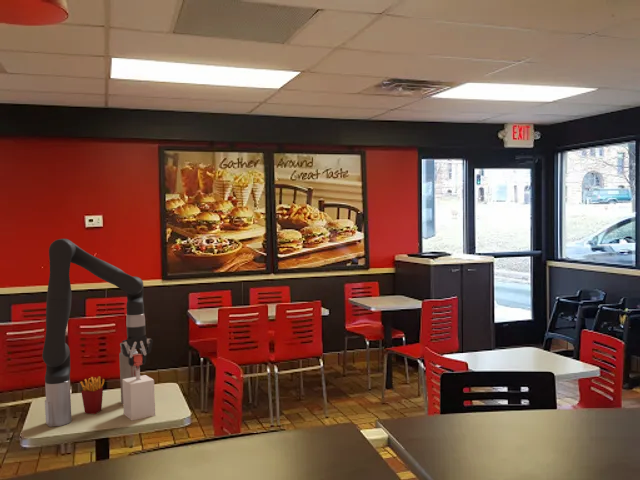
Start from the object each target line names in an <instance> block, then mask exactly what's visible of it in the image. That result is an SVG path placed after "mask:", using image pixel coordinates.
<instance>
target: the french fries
mask: <svg viewBox="0 0 640 480" xmlns="http://www.w3.org/2000/svg"><path fill="white" fill-rule="evenodd" d="M101 380H102V381H101ZM105 380H106V379H104V378H102V379H101V376H97V377H94V376H90V378H88V379H87V378H85V379H84V382H83V381H79V383H80V385H81V388H82V390H81V397H82V402H83V409H84V415H85V414H87V415H88V414H89V415H95V414H98V413H99V412H101V411H103V410H102V406H103V394H104V384H105Z"/></svg>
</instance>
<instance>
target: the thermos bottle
mask: <svg viewBox="0 0 640 480" xmlns="http://www.w3.org/2000/svg"><path fill="white" fill-rule="evenodd" d="M126 340H127V339H124V340H122V341H121V343H124V342H126ZM129 347H130V346H129V345H128V344H127V345H126V350H127V353H129ZM133 354H139V352H138V351H137V349H135V351H134V353H133ZM119 377H120V382H119V383H120V400H121V401H120V402H121V404H122V405H123V383H122V379H126V378H132V377H136V366H132V367H131V366H130V365H129V364H128V357H125V356H124V355H123V352H122V350H121V349H120V352H119Z"/></svg>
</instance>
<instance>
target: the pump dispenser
mask: <svg viewBox="0 0 640 480" xmlns="http://www.w3.org/2000/svg"><path fill="white" fill-rule="evenodd" d="M122 383H123V404H122V405H123V406H122V407H123V415H124V416H126V418H128V419H129V420H131V421H137V420H141V419H143V418H144V419H146V418H149V417H152V416H156V399H155V398H156V397H155V394H156V393H155V392H156V391H155V379H153V378H152V377H150V376H148V375H146V374H143V375H140V380H137V381H136V377H132V378H126V379H122Z"/></svg>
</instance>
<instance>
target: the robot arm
mask: <svg viewBox="0 0 640 480" xmlns="http://www.w3.org/2000/svg"><path fill="white" fill-rule="evenodd" d="M48 260H49V276H48V283H47V284H48V285H47V292H46V306H45V336H44V337H45V338H44V344H43V349H42V353H41V355H42V360H43V362H44V364H45V365H46V366H45V367H46V368H45V369H46V370H45V376H44V383H45V385H44V387H45V400H44V410H45V411H44V412H45V414H44V415H45V423H46V425H47V426H48V427H60V426H65V425H68V424H70V423H71V422H72V399H71V377H70V376H71V351H70V347H69V345H68V344H67V343H66V332H67V327H68V323H69V319H70V316H71V309H72V296H73V295H72V294H73V293H72V286H71V280H70V279H71V278H70V270H71V264H75V265H76V266H78V267H81V268H83V269H85V270H87V271H88V272H89V273H91V274H93V275H94V276H95V277H97V278H99V279H101V280H103V281H105V282H107V283H109V284H111V285H114V286H116V287H117V288H119V289H120V290H122V291H124V292H125V293H126V300H127V301H126V319H125V320H126V321H125V324H126V339H125V340H126V342H124V343H122V342H120V343H119V346H120V351H121V350H122V352H123V355H124V356H125V357H128V364H129V365H130V366H131V367H132V366H133V353H134V351H135V349H136V350H137V349H139V350H140V352H141V353H140V354H143V364H142V365H145V364H146V363H147V355H148V354H151V351H152V347H153V345H154V344H153V343H154V339H152V338H148V337H147V336H146V335H147V333H146V317H145V305H144V281H143V280H142V278H140V277H138V276H132V275H130V274H129V273H127V272H125V271H124V270H122V269H121V268H119V267H117V266H115V265H113V264H111V263H109V262H107V261H105V260H103V259H100V258H98V257H96V256H94V255H92V254H90V253H89V252H87V251H85V250H84V249H83V248H81V247H80V246H79V245H77V244H76V243H74V242H73V241H72V240H70V239H68V238H59V239H55V240H54V241H53V242H51V243H50V245H49V248H48ZM127 344H128V345H129V346H130V347H129V353H127V350H126V345H127ZM145 344H147V345H146V347H145Z"/></svg>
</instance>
